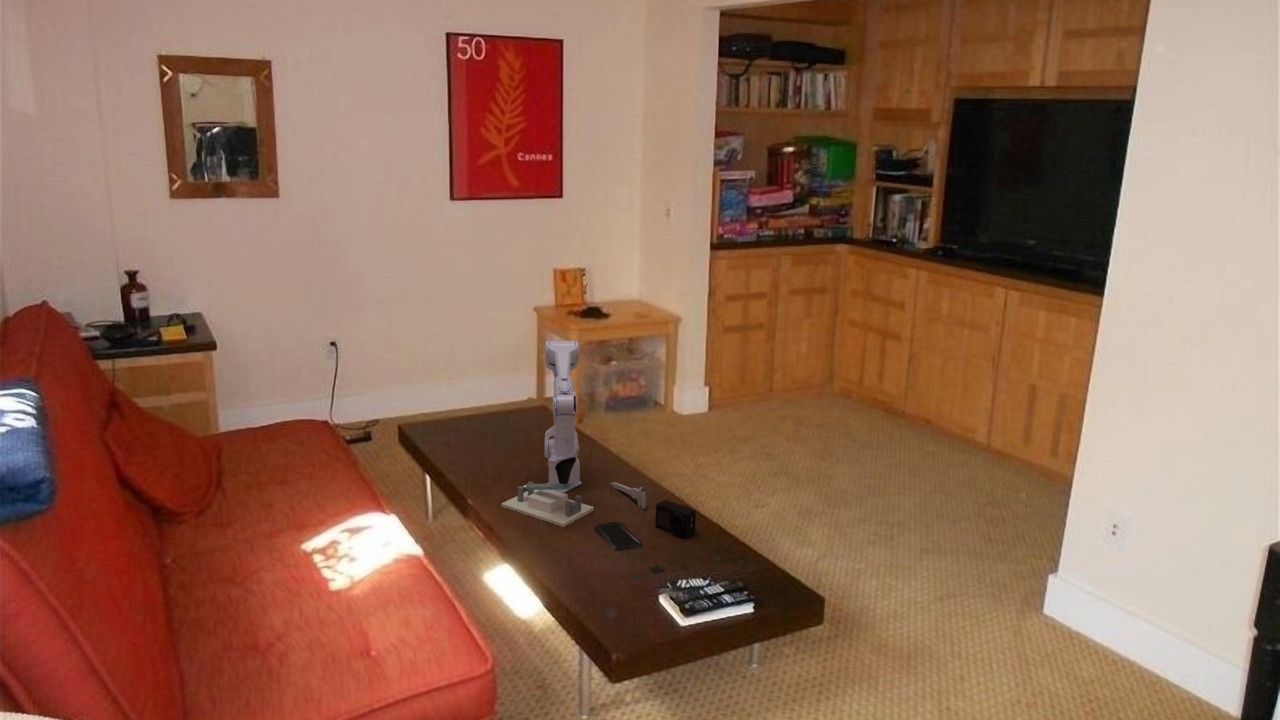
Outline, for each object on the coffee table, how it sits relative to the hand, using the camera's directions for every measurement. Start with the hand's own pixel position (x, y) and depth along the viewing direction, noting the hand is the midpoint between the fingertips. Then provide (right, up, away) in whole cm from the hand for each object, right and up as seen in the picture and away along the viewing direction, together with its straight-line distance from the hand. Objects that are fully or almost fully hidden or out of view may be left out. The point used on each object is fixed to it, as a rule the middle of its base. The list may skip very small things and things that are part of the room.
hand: (563, 483), depth 264 cm
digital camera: (+30, -12, -6) cm, 33 cm away
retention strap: (-5, -2, +4) cm, 6 cm away
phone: (+15, -13, -11) cm, 23 cm away
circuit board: (+25, -19, -28) cm, 42 cm away
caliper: (+17, -6, +16) cm, 24 cm away
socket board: (-5, -8, +5) cm, 11 cm away
